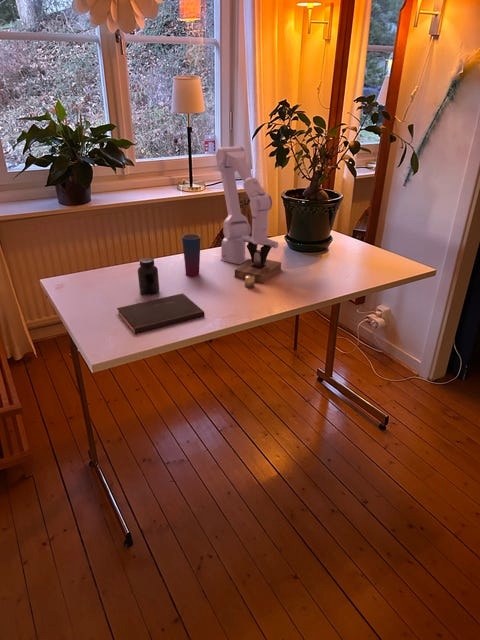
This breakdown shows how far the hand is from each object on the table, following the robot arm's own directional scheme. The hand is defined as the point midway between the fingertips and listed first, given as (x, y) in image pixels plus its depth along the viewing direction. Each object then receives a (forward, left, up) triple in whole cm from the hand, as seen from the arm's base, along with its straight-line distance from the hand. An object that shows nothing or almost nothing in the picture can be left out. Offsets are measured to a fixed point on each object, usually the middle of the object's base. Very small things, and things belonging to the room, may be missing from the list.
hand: (258, 262), depth 179 cm
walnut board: (0, 0, -4) cm, 4 cm away
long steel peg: (0, 0, -2) cm, 2 cm away
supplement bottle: (-25, -35, -5) cm, 43 cm away
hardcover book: (-11, -47, -5) cm, 48 cm away
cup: (-21, -14, -4) cm, 26 cm away
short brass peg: (+3, -13, -4) cm, 14 cm away
